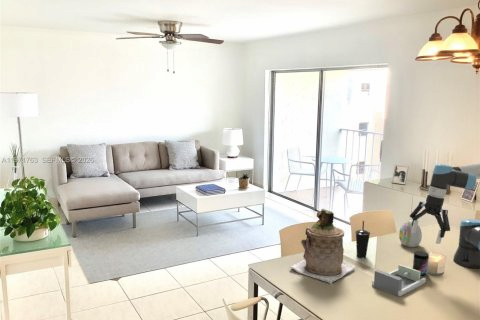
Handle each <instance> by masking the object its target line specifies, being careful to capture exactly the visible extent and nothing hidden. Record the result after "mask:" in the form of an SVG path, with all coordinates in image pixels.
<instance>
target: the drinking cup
mask: <svg viewBox="0 0 480 320" xmlns="http://www.w3.org/2000/svg"><path fill="white" fill-rule="evenodd" d="M364 228H365V221H364V220H362V228H361V229H357V230H356V231H355V239H356V240H355V244H356V245H355V247H356V257H357V258H360V259H365V258H367V253H368V247H369V241H370V235H371V232H370V231H368V230H366V229H364Z"/></svg>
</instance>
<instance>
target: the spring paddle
mask: <svg viewBox="0 0 480 320" xmlns="http://www.w3.org/2000/svg"><path fill="white" fill-rule="evenodd" d="M397 269H398V275H400V276H403V277H406V278H408V279H411V280H414V281H418V280H420V279H421V276H420V273H421V271H418V270H415V269H413V267H409V266H407V265H403V264H398V268H397Z"/></svg>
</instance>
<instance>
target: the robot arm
mask: <svg viewBox="0 0 480 320" xmlns="http://www.w3.org/2000/svg"><path fill="white" fill-rule="evenodd" d="M477 179H478V180H480V163H477V164H468V165H466V164H465V165H459V166H451V165H447V164H443V163H436V164H435V165H434V168H433V171H432V176H431V180H430V183H429V188H428V192H427V193H428V194H427V196H426V200H425V201H419V203H418V204H417V206H416V207H415V209H414V210H413V211H412V212H411V213H410V214H409V217H410V218H411V220H413V221H412V230H411V233H416V229H417V225H419V220H420V218H422V217H423V216H425V215H426V214H427V215H431V216H434V218H435V219H436V221H437V224H438V226H439V230H438V233H437V237H436V241H435V244H436V245H437V244H441V243H442V239H443V238H444V237H445V235H446V232H450V231H451V226H450V225H451V224H450V221H449V214H448V213H449V210H448V209H443V205H444V201H445V198H446V194H447V189H448V187H454V188H459V189H463V190H472V189H474V188H475V187H476V184H477ZM418 219H419V220H418ZM458 236H459V237H458V246H457V248H456V250H455V253H454V254H453V262H454V263H456V264H458V265H460V266H463V267H466V268H470V269H480V219H473V218H472V219H471V218H466V219H462V220H461V221H460V225H459V235H458Z"/></svg>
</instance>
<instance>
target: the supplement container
mask: <svg viewBox="0 0 480 320" xmlns="http://www.w3.org/2000/svg"><path fill="white" fill-rule="evenodd" d="M429 258H430V254H429V253H428V252H426V251H423V250H415V251H414V252H413V259H412V261H413V263H412V269H415V270H418V271H421V273H420V277H426V276H427V275H428V270H429V260H430V259H429Z"/></svg>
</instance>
